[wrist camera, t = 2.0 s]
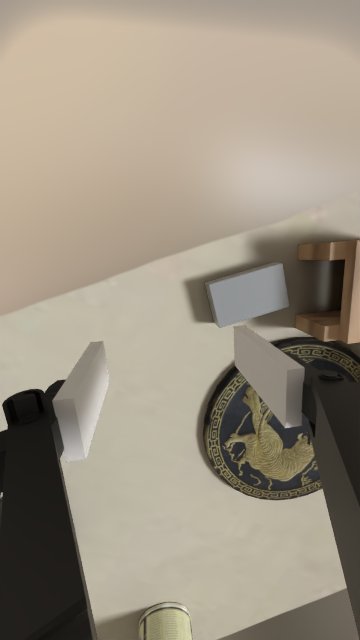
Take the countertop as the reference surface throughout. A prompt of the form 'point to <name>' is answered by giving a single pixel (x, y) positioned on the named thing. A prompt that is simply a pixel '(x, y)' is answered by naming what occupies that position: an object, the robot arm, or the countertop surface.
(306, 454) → the decorative plate
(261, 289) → the grey rectangular block
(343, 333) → the wooden u-bracket
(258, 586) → the countertop surface
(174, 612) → the coffee can
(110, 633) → the countertop surface
